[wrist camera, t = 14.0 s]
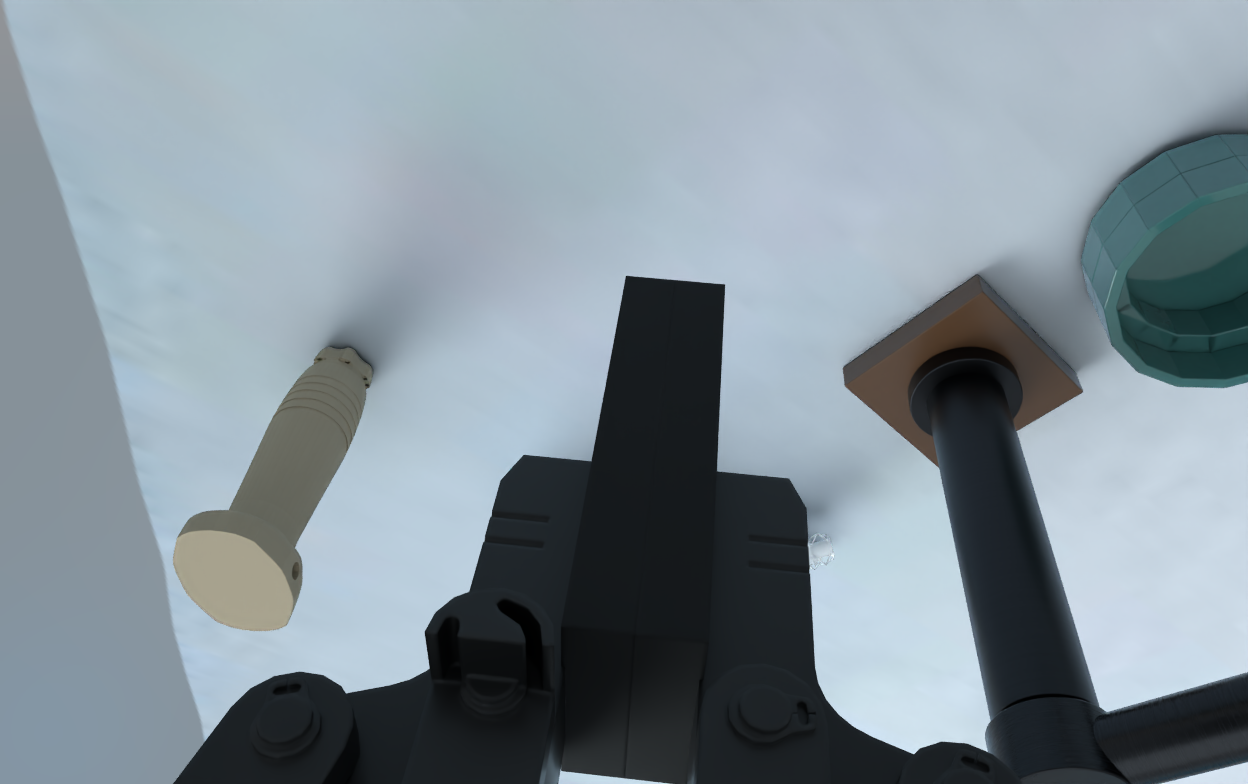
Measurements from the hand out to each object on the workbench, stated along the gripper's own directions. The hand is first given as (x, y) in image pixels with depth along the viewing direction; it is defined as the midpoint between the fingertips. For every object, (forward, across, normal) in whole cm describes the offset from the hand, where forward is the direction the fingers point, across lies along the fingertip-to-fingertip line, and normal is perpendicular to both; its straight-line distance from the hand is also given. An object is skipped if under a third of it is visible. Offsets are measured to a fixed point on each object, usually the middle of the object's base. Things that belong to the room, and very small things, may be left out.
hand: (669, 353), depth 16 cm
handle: (+29, -18, -24) cm, 42 cm away
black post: (+28, +14, -21) cm, 38 cm away
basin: (+28, +22, -12) cm, 38 cm away
